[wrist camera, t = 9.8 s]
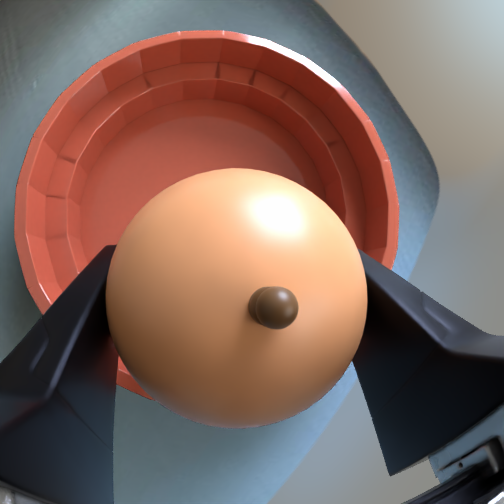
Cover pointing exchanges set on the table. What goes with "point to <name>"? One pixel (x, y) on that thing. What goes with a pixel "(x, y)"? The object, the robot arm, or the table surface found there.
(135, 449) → the table surface
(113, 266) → the peach
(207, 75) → the bowl
